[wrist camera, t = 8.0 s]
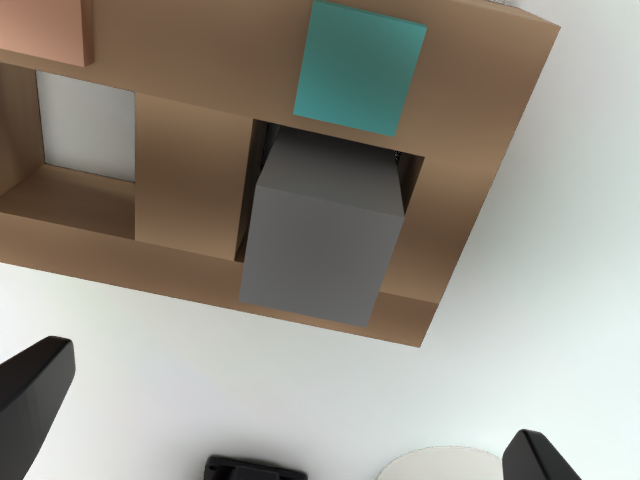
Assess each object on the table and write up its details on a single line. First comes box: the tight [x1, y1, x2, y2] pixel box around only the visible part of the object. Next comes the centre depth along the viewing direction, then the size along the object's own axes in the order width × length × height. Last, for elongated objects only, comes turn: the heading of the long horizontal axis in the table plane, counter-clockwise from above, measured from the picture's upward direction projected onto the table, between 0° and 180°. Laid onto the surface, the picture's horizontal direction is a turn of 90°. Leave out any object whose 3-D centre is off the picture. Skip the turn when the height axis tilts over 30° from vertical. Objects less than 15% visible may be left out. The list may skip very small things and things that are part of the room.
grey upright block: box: [238, 125, 405, 328], centre depth 17 cm, size 4×4×7 cm
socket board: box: [0, 0, 561, 348], centre depth 17 cm, size 12×18×5 cm, turn 78°
